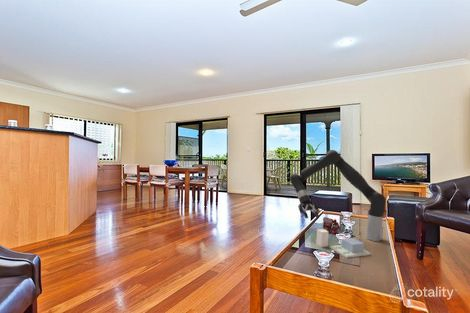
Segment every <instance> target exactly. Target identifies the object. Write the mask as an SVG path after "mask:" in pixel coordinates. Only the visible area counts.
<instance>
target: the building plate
mask: <svg viewBox="0 0 470 313" xmlns="http://www.w3.org/2000/svg"><path fill="white" fill-rule="evenodd" d="M329 248H330V249H331V250H332V251H334V252H335V253H337V254H339V255H341V256H342V257H344V258H346V259H348V258H355V257H363V256H371V252H369V251H368V250H366V249H365V242H362V241H360V240H359V239H356V238H354V237H347V238H341V243H340V244H336V245H329Z"/></svg>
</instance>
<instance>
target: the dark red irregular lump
mask: <svg viewBox="0 0 470 313" xmlns="http://www.w3.org/2000/svg"><path fill="white" fill-rule="evenodd" d="M322 221H323V223H322V224H323V225H322V229H324V230H326V231H328V232H330V234H332V235H336V234H337V233H340V232H341V226H340V224H339V222H338V221H337V219H336V218H335V219H333V218H330V217H323V218H322ZM335 233H336V234H335Z"/></svg>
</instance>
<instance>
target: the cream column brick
mask: <svg viewBox="0 0 470 313" xmlns="http://www.w3.org/2000/svg"><path fill="white" fill-rule="evenodd" d="M316 230H317V231H316V241H315V244H316V245H318V247H321V248H324V247H328V246H329V232H330V231H329V232H328V231H326V230H324V229H323V228H321V229H320V228H319V229H318V228H317V229H316Z"/></svg>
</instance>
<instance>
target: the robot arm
mask: <svg viewBox="0 0 470 313" xmlns="http://www.w3.org/2000/svg"><path fill="white" fill-rule="evenodd" d="M332 165H334V167H336V168H337V169H338V170H339V171H340V173H341V174H342V176H343V178H345V179H346V181H348V182H349V183H350V185H352V186H353V187H354V188H356V189H357V190H358V191H359V192H360V193H362V194H363V196H364V197H365V198H366V199H367V201H368V202H369V204H370V207H369V209H368V211H367V212H368V213H367V223H366V224H367V225H366V235H365V237H366V240H369V241H372V242H381V241H382V240H383V232H384V227H383V223H384V222H383V221H384V220H383V218H384V214H385V210H386V202H387V200H386V197H385V196H384V194H382V193H380V192H378V191H377V190H375V188H373V187H371V186H370V185H369V183H368V182H367V181H366V179H365V178H364V177H363V176H362V174H361V173H360V172H359V171H358V170H357V169H356V168H354V167H353V166H352V165H351V164H349V163H348V162H347V161H345V160H344V158H343V157H342V156H341V154H340V153H339V152H338V151H337V150H334V149H330V150H328V151H326V153H325V156H324V157H322V158H321V159H320V160H318V161H317V162H315V163H313V164H310V165H307V167H305V168H303V169H302V170H300V174H299V175H298V174H297V173H292V174H291V175H290V176H289V181H290V183H291V185H292V186H293V187H294V189H295V193H296V194H297V199H298V200H299V202H300V203H299V204H298V206H297V207H298V210H299V212H300V214H302V215H303V216H304V218H305V219H306V220H307V219H309V215H308V211H311V212H312V213H313V214H314V216H315V218H316V219H318V218H319V217H320V215H319V212H320V209H319V207H318V205H317V204H316V203H312V200H311V197H310V196H309V194H308V191H307V190H306V187H305V185H304V184H303V183H304V182H305V181H306V180H307V179H308V178H310V177H312V176H313V175H315V174H316V173H317V172H320V171H321V170H324V169H325V168H327V167H330V166H332ZM381 239H382V240H381ZM380 240H381V241H380Z"/></svg>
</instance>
